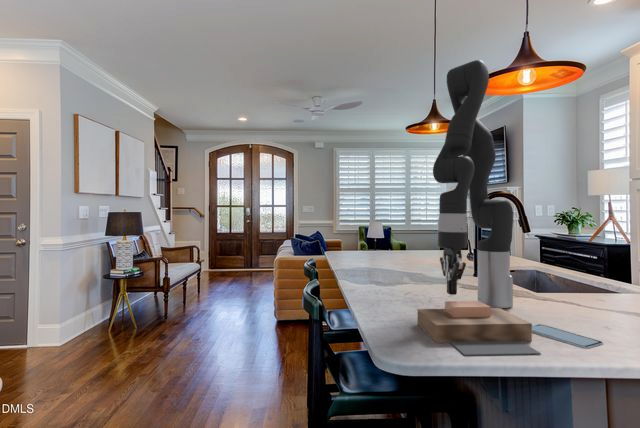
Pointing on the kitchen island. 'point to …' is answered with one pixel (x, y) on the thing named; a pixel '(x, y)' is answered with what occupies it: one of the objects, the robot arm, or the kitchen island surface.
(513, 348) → the rubber mat
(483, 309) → the terracotta tile
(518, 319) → the block
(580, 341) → the smartphone
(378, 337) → the kitchen island surface
